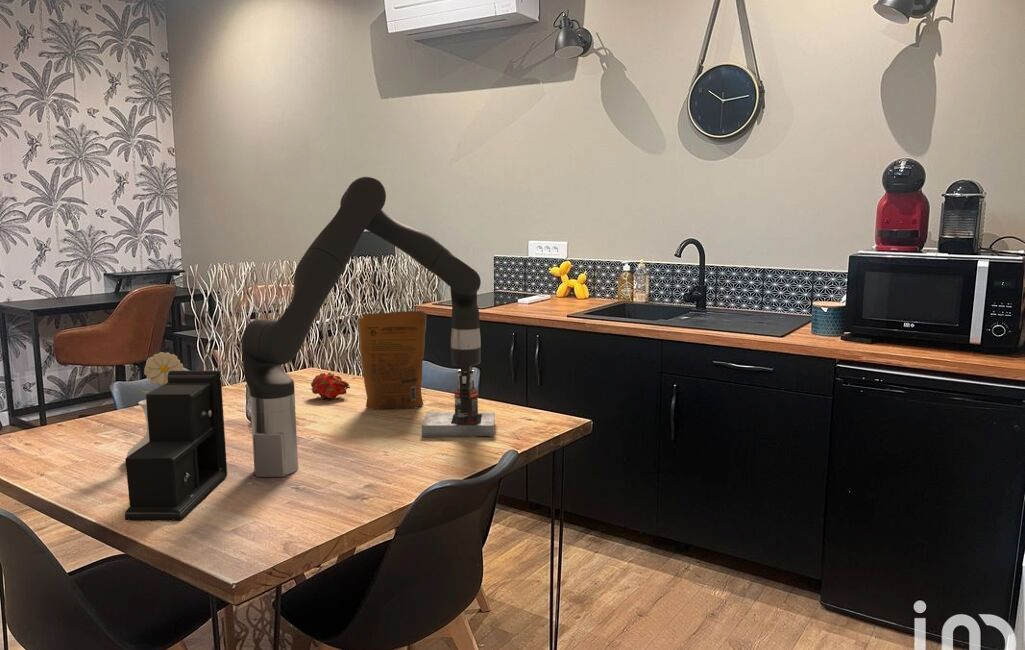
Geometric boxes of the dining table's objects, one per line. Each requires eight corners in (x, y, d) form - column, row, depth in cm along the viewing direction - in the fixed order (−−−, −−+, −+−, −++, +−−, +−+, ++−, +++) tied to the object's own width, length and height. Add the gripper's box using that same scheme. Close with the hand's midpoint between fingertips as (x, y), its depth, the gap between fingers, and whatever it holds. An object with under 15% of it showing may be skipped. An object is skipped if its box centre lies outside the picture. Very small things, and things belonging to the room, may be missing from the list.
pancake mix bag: (428, 409, 216) (426, 312, 212) (360, 411, 214) (356, 313, 210) (428, 403, 223) (426, 308, 218) (362, 405, 221) (358, 309, 216)
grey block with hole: (493, 437, 191) (493, 425, 190) (421, 437, 191) (421, 425, 190) (494, 423, 203) (494, 412, 202) (426, 423, 203) (426, 412, 202)
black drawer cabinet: (181, 521, 140) (172, 397, 137) (123, 521, 140) (112, 397, 137) (228, 477, 163) (222, 369, 160) (178, 477, 163) (170, 369, 160)
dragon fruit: (309, 401, 231) (347, 408, 230) (302, 391, 224) (341, 398, 222) (318, 376, 235) (355, 383, 234) (311, 365, 227) (350, 372, 226)
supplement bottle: (479, 420, 199) (479, 377, 197) (476, 426, 193) (476, 383, 191) (456, 419, 200) (456, 377, 198) (453, 425, 194) (452, 382, 192)
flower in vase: (122, 470, 167) (112, 359, 163) (132, 454, 178) (124, 349, 174) (186, 465, 170) (178, 355, 166) (192, 449, 181) (185, 346, 177)
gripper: (479, 350, 186) (479, 417, 189) (481, 340, 200) (481, 402, 203) (448, 350, 186) (449, 417, 189) (453, 340, 200) (453, 402, 203)
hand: (466, 409), depth 196 cm, fingers closed on supplement bottle, 6 cm apart
